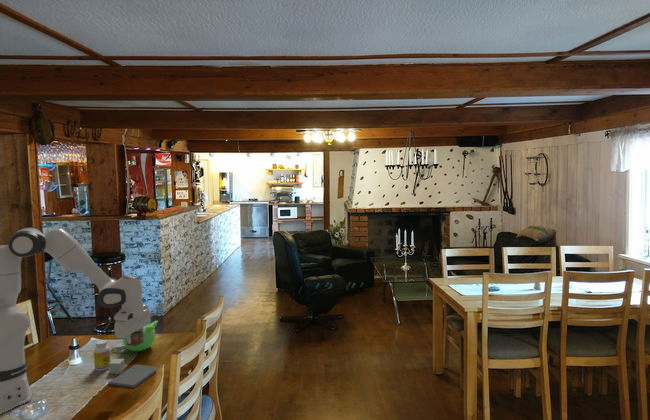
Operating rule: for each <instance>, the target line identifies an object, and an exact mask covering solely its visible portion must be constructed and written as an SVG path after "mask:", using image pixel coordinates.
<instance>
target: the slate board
mask: <svg viewBox="0 0 650 420" xmlns="http://www.w3.org/2000/svg"><path fill="white" fill-rule="evenodd" d="M158 367H159V366H152V365H141V364H134V365H133V366H130V367H129V368H128V369H125V370H124V371H122V372H121V373H120V374H117V376H115V377H114V378H112V379H111V380H109V381H108V385H110V386H116V387H124V388H125V387H126V388H133V389H135V388H136V387H137V386H139V385H140V384H142V383H143V382H145V381H146V380H147V379H149V378H150V377H151V376H153V375H154V374H155V372H156V369H157V368H158ZM156 373H157V372H156Z"/></svg>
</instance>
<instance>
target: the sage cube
mask: <svg viewBox="0 0 650 420" xmlns="http://www.w3.org/2000/svg"><path fill="white" fill-rule="evenodd" d="M125 363H126V362H125V358H113V359H112V360H110V363H109V368H108V371H109V373H118V374H117V375H120V374H122V373H123V372H124V371H125V370H126V365H125Z"/></svg>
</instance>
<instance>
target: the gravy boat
mask: <svg viewBox="0 0 650 420" xmlns="http://www.w3.org/2000/svg"><path fill="white" fill-rule="evenodd" d="M158 323H159V321H158V320H154V321H153V322H150V324H148V325H146V326H144V327H143V328H144V329H143V340H144V342H143V343H141V344H139V345H138V346H128V345H127V340H126V338H122V343H123V345H124V347H125V348H126V349H127V350H128V351H129V350H130V351H133V352H141V351H145V350H147V349H149V348H150V347H151V346H152V345H153V344H154V341H155V338H156V330H155V329H156V327H157V325H158ZM137 331H138V330H137Z"/></svg>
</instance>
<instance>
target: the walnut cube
mask: <svg viewBox="0 0 650 420" xmlns="http://www.w3.org/2000/svg"><path fill="white" fill-rule="evenodd" d="M130 338H131V339H133V342H132V343H131V344H128V343H127V345H128V346H138V345H139V344H141V343H143V342H144V340H143V331H135V332H134V333H132V334H131V336H130ZM126 340H127V339H126Z"/></svg>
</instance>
